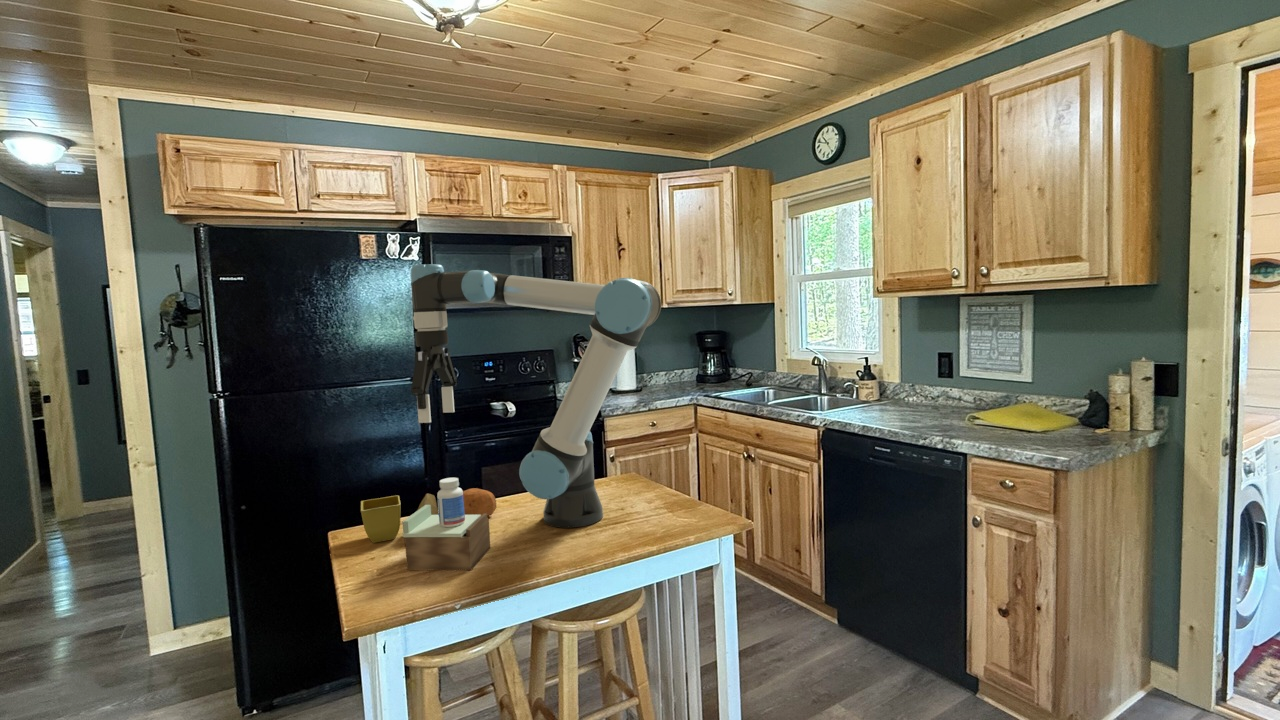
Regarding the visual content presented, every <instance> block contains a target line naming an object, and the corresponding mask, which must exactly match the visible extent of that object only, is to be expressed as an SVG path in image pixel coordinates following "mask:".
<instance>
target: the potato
mask: <svg viewBox="0 0 1280 720" xmlns="http://www.w3.org/2000/svg"><path fill="white" fill-rule="evenodd" d="M463 499H464V513H465V515H482V514H484V513H487V517H490V516H492V515H493V514H494V512H495V511H496V509H497V499H496V497H495V495H494V493H492V492H491V491H489V490H486V489H481V488H478V487H476V488H474V487H473V488H468V489H466V490H463Z"/></svg>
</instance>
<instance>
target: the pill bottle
mask: <svg viewBox="0 0 1280 720" xmlns="http://www.w3.org/2000/svg"><path fill="white" fill-rule="evenodd" d="M459 486H460V482H459V477H446V478H442V479H440V480H439V488H440V490H438V492H437V493H436V494H437V496H436V497H437V508H438V513H439V523H440V525H441V526H442V527H455V526H458V525H461V524H463V523H464V522H465V513H464V499H463V491H464V490H463V489H462V488H461V487H459Z"/></svg>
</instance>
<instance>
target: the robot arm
mask: <svg viewBox="0 0 1280 720" xmlns="http://www.w3.org/2000/svg"><path fill="white" fill-rule="evenodd" d="M410 272H411V273H410V286H411V296H412V307H413V310H412V311H413V316H412V320H413V323H414V328H415V329H416V330H417V331H415V333H414V339H415V340H414V341H415V346H416V347H418V348H421V351H415V353H414V367H413V376H412V379H411V380H412V381H411V389H410V394H411V395H412V396H416V404H417V416H418V417H417V418H418V424H423V423H424V424H431V423H432V416H431V414H432V413H431V400H430V394H429V393H428V392H429V388H430V384H431V380H432V376H433V374H434V372H435V371H436V374H437V376H438V378H439V379H440V382H441V383H442V386H441V399H442V401H441V402H442V413H443V414H444V413H448V414H449V413H455V412H456V411H455V399H454V387H456V386H457V384H458V382H457V380H458V379H457V377H456V373H455V370H454V366H453V362H452V359H451V353H450V348H449V347H445V346H448V344H449V343H450V342H449V332H448V330H447V329H446V328H448V327H449V326H448V325H449V324H448V314H447V305H451V304H453V305H454V304H455V305H456V304H497V305H506V306H518V307H524V308H533V309H534V308H535V309H542V310H549V311H550V310H551V311H560V312H566V313H575V314H576V313H577V314H583V315H593V317H592V319H591V322H590V323H589V327H590V331H591V334H592V335H591V338H590V340H589V342H588V344H587V346H586V348H585V350H584V353H583V354H582V357H581V359H580V362H579V363H578V366H577V368H576V371H575V372H574V375H573V377H572V380H571V381H570V384H569V386H568V388H567V390H566V392H565V394H564V396H563V399H562V400H561V403H560V405H559V407H558V410H557V411H556V414H555V416H554V418H553V420H552V423H551V424H550V427H546V428H543V429H542V430H541V431H540V433H539V434H538V435H539V436H538V437H537V440H536V441H535V443H534V446H533V448H532V450H531V451H530V452H529V453H527V454H526V455H525V456H524V457H523V459H522V460H521V463H520V466H519V470H518V471H519V472H518V474H519V478H520V480H521V483H522V486H523V488H524V489H525V490H526V491H527V492H528V493H529V494H530V495H532V496H533V497H535V498H537V499H540V500H546V501H545V505H544V509H543V521H544V523H545V524H546V525H548V526H550V527H555V528H561V529H562V528H563V529H565V528H567V529H569V528H570V529H572V528H579V527H580V528H581V527H586V526H589V525H593V524H596V523H597V522H599V521H601V520H602V518H603V517H604V512H603V510H604V508H603V505H602V503H601V500H600V499H601V498H600V497H599V495H598V492H597V490H596V485H595V467H594V465H595V464H594V441H593V435H592V432H591V428H592V427H593V425H594V422H595V420H596V418H597V416H598V414H599V411H600V409H601V408H602V405H603V404H604V401H605V399H606V397H607V395H608V393H609V391H610V389H611V387H612V384H613V382H614V380H615V379H616V376H617V374H618V372H619V370H620V367H621V365H622V363H623V361H624V359H625V357H626V355H627V353H628V352H629V351H630V350H634V349H636V348H637V347H638V345H639V343H640V341H641V338H643V335H644V333H645V330H646V328H648V327H650V326H651V325H653V324H654V323H655V322H656V320H657V319H658V318H659V315H660V313H661V310H662V299H661V295H660V294H659V291H658V290H657V289H656V288H655V286H653V285H652V284H651V283H649V282H647V281H645V280H641V279H633V278H632V277H620V278H617V279H613V280H611V281H609V282H608V283H606V284H599V283H598V284H597V283H587V282H581V281H579V282H578V281H572V280H571V281H570V280H569V281H568V280H563V279H562V280H561V279H560V280H559V279H553V278H552V279H551V278H541V277H531V276H522V275H521V276H520V275H510V274H502V273H497V272H489V271H488V270H484V269H483V270H480V269H471V270H460V271H449V272H448V271H445V269H444V266H443V265H442V264H437V263H436V264H435V263H430V264H428V263H427V264H426V263H425V264H415V265H413V266H411V269H410Z"/></svg>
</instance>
